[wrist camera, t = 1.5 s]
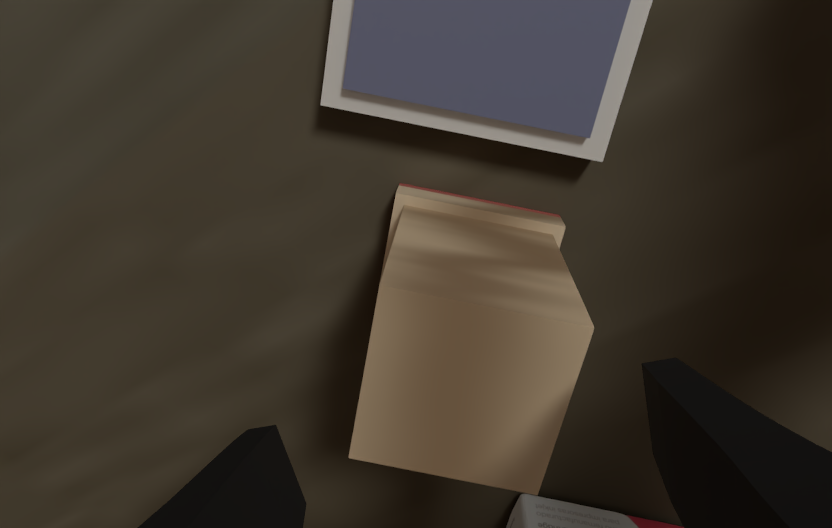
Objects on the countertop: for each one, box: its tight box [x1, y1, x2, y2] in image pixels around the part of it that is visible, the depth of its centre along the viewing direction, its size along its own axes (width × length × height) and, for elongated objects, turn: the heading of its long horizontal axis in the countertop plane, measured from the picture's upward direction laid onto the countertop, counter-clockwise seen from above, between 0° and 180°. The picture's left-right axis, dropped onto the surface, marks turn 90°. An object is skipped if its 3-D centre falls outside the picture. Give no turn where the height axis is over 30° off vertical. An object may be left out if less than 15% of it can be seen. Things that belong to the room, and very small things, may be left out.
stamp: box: [348, 183, 594, 495], centre depth 16 cm, size 5×5×7 cm
